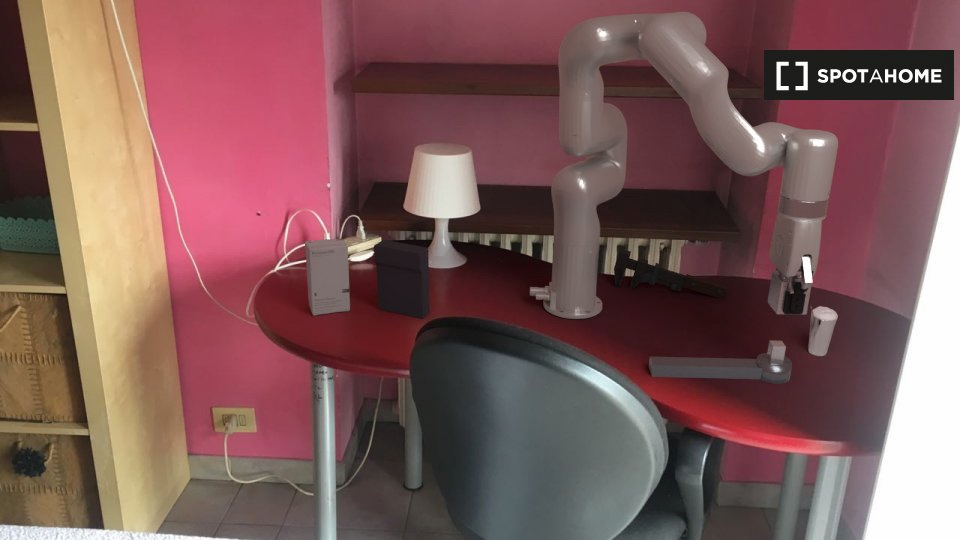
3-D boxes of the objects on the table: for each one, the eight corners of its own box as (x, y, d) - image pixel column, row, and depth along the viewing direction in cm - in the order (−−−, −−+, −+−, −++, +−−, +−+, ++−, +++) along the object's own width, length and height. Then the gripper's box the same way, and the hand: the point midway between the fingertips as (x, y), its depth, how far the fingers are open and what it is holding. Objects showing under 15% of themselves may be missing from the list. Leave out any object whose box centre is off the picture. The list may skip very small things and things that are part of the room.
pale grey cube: (776, 314, 130) (781, 281, 128) (767, 302, 134) (772, 270, 132) (806, 314, 130) (812, 282, 127) (796, 302, 134) (801, 271, 132)
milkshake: (795, 347, 147) (804, 300, 144) (822, 346, 148) (831, 299, 144) (807, 358, 143) (816, 310, 139) (834, 357, 144) (844, 309, 140)
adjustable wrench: (716, 318, 170) (608, 285, 174) (716, 313, 172) (609, 280, 176) (729, 285, 166) (619, 252, 170) (729, 281, 169) (620, 248, 173)
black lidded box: (431, 312, 161) (430, 246, 155) (421, 320, 157) (420, 253, 151) (387, 302, 165) (384, 238, 159) (376, 310, 161) (373, 244, 155)
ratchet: (652, 380, 135) (656, 348, 133) (647, 364, 141) (650, 333, 139) (794, 384, 135) (800, 352, 132) (783, 367, 140) (788, 336, 138)
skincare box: (312, 316, 158) (306, 250, 153) (308, 305, 164) (302, 240, 158) (352, 310, 161) (348, 245, 155) (347, 299, 166) (342, 235, 161)
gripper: (763, 191, 133) (750, 287, 140) (797, 222, 117) (781, 328, 124) (806, 192, 133) (791, 287, 140) (847, 222, 117) (827, 328, 124)
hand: (786, 305), depth 132 cm, fingers closed on pale grey cube, 5 cm apart
